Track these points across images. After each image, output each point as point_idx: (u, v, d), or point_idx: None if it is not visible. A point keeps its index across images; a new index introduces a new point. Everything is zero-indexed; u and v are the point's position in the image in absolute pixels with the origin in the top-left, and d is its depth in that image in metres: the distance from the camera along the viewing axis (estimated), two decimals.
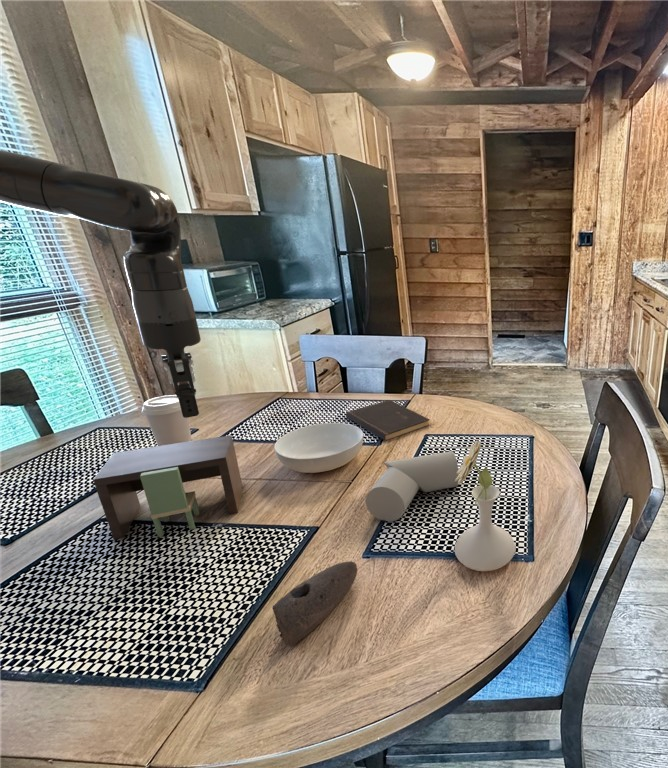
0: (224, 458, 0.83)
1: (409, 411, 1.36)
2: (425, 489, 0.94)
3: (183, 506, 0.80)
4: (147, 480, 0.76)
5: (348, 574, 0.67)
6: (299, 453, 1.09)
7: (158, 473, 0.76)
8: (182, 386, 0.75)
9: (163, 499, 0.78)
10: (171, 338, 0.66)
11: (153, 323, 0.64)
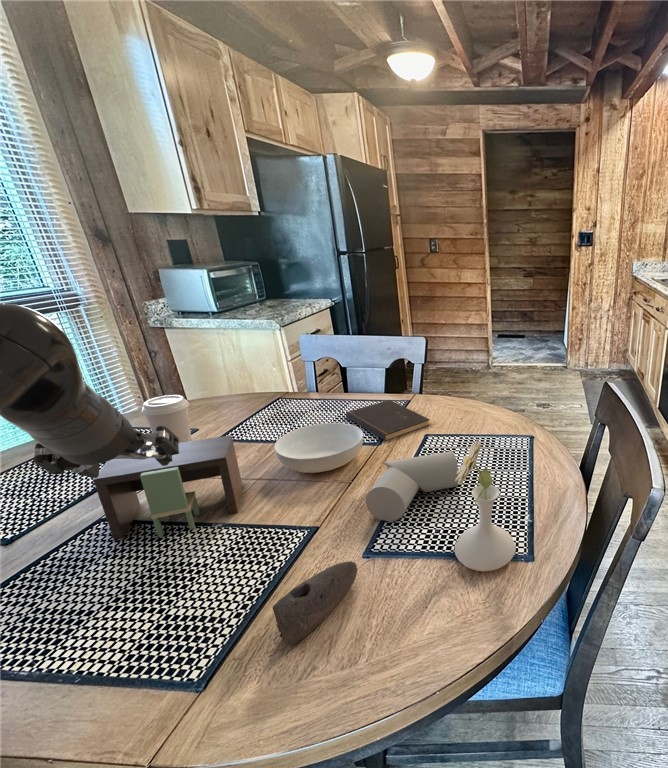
0: (224, 458, 0.83)
1: (409, 411, 1.36)
2: (425, 489, 0.94)
3: (183, 506, 0.80)
4: (147, 480, 0.76)
5: (348, 574, 0.67)
6: (299, 453, 1.09)
7: (158, 473, 0.76)
8: None
9: (163, 499, 0.78)
10: (128, 430, 0.56)
11: (116, 435, 0.53)
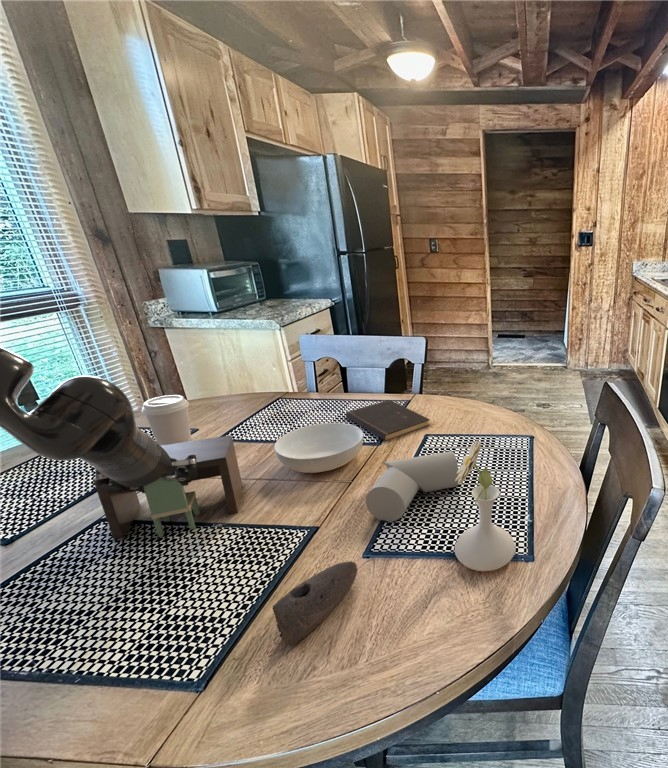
0: (224, 458, 0.83)
1: (409, 411, 1.36)
2: (425, 489, 0.94)
3: (183, 506, 0.80)
4: None
5: (348, 574, 0.67)
6: (299, 453, 1.09)
7: None
8: None
9: (163, 499, 0.78)
10: (166, 458, 0.70)
11: (157, 464, 0.67)
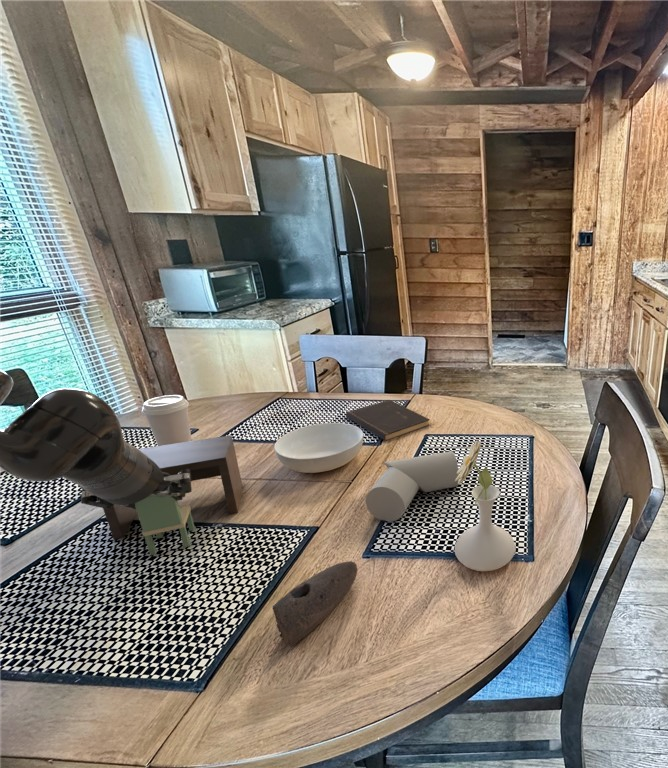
0: (224, 458, 0.83)
1: (409, 411, 1.36)
2: (425, 489, 0.94)
3: (177, 522, 0.75)
4: None
5: (348, 574, 0.67)
6: (299, 453, 1.09)
7: None
8: None
9: (155, 515, 0.73)
10: (157, 473, 0.65)
11: (148, 480, 0.62)
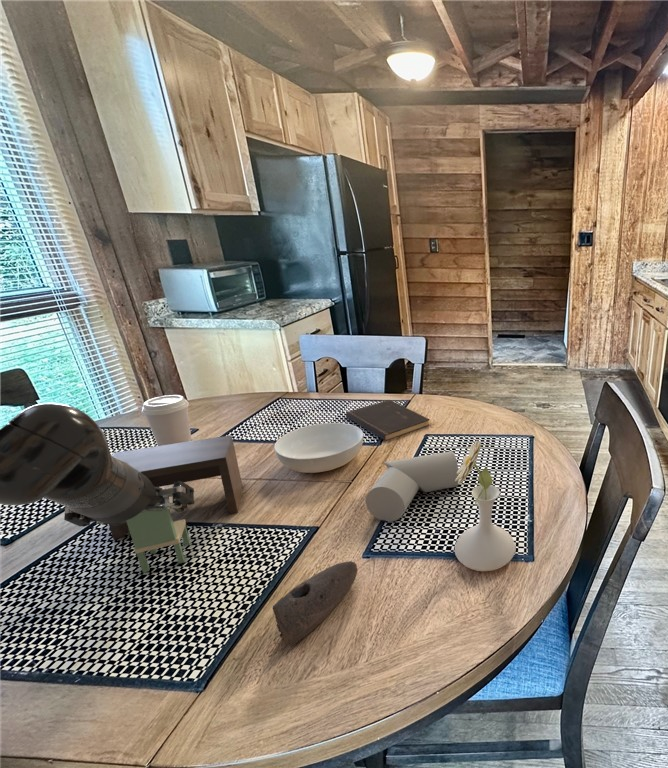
0: (224, 458, 0.83)
1: (409, 411, 1.36)
2: (425, 489, 0.94)
3: (171, 538, 0.71)
4: None
5: (348, 574, 0.67)
6: (299, 453, 1.09)
7: None
8: None
9: (148, 531, 0.70)
10: (149, 489, 0.61)
11: (138, 497, 0.58)
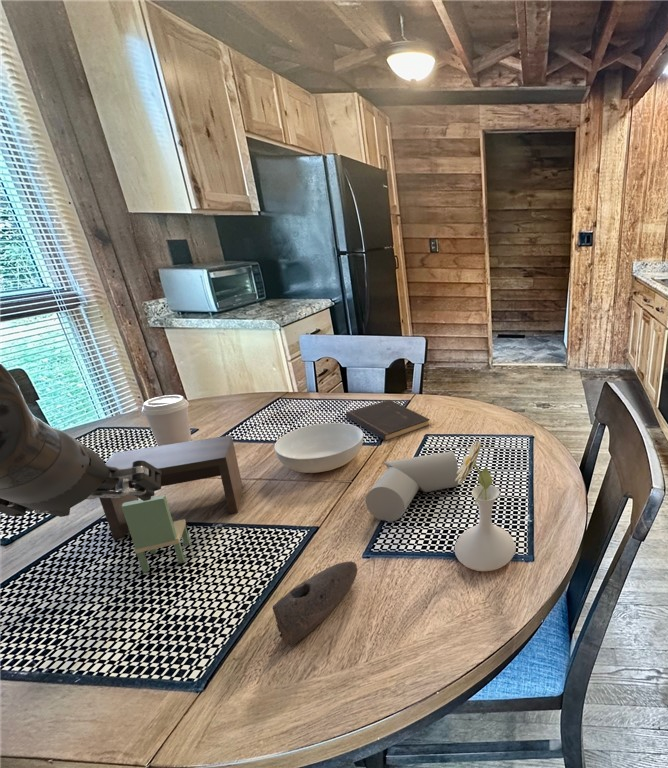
0: (224, 458, 0.83)
1: (409, 411, 1.36)
2: (425, 489, 0.94)
3: (171, 538, 0.71)
4: (130, 511, 0.67)
5: (348, 574, 0.67)
6: (299, 453, 1.09)
7: (142, 503, 0.68)
8: None
9: (148, 531, 0.70)
10: (99, 468, 0.48)
11: (81, 477, 0.45)
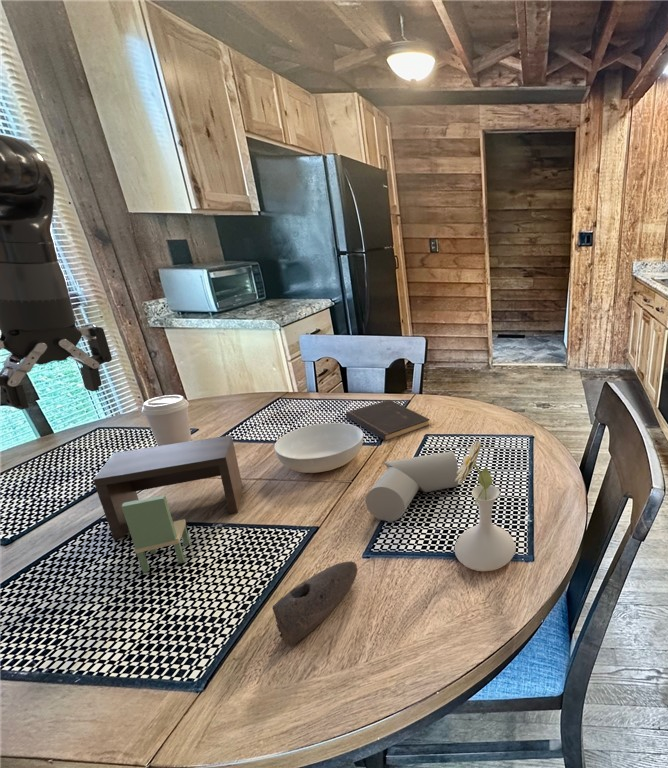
0: (224, 458, 0.83)
1: (409, 411, 1.36)
2: (425, 489, 0.94)
3: (171, 538, 0.71)
4: (130, 511, 0.67)
5: (348, 574, 0.67)
6: (299, 453, 1.09)
7: (142, 503, 0.68)
8: None
9: (148, 531, 0.70)
10: None
11: (69, 295, 0.61)
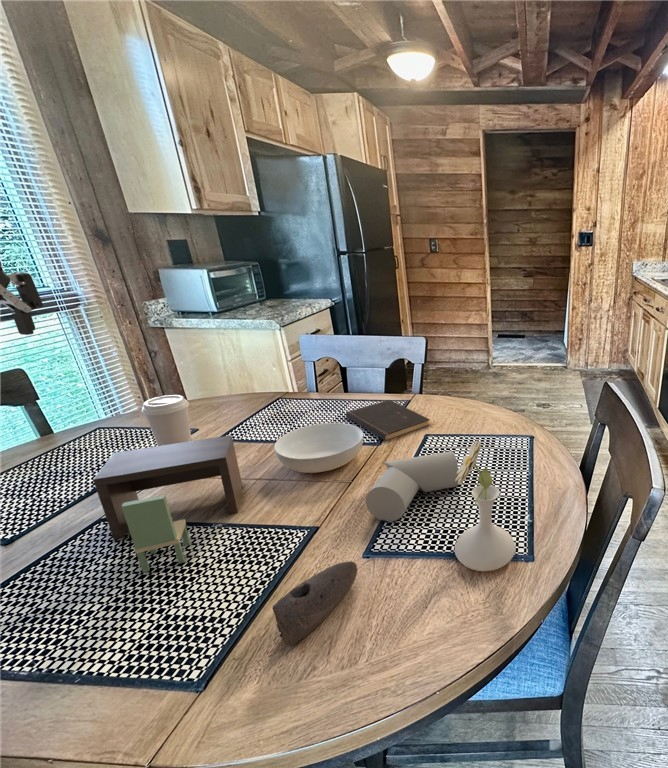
0: (224, 458, 0.83)
1: (409, 411, 1.36)
2: (425, 489, 0.94)
3: (171, 538, 0.71)
4: (130, 511, 0.67)
5: (348, 574, 0.67)
6: (299, 453, 1.09)
7: (142, 503, 0.68)
8: None
9: (148, 531, 0.70)
10: None
11: None
